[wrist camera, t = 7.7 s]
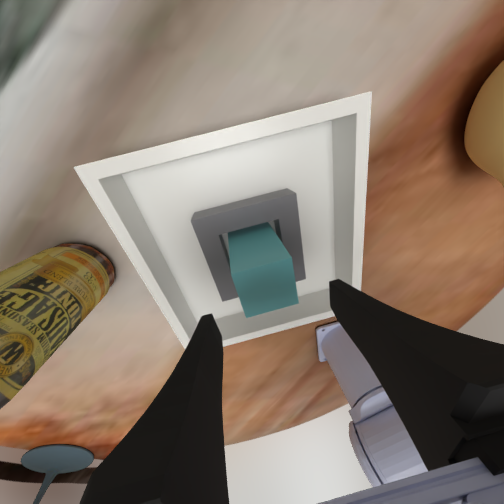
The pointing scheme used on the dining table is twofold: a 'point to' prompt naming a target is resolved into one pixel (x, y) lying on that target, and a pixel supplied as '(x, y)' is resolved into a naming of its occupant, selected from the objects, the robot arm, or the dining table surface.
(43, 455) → the cocktail glass
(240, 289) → the block
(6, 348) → the sauce bottle
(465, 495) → the robot arm
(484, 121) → the sculpture
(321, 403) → the dining table surface
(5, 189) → the dining table surface
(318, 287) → the box
